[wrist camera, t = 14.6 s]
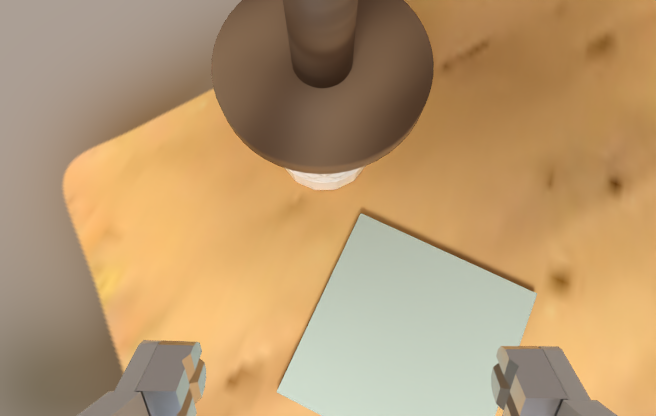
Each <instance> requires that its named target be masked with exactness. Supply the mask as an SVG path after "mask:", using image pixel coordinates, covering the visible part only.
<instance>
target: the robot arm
mask: <svg viewBox="0 0 656 416" xmlns="http://www.w3.org/2000/svg"><path fill="white" fill-rule="evenodd" d="M201 352H202V350H201V346H200V343H199V342H184V341H153V340H144V341H142V342H141V343H140V344H139V346H138V347H137V349H136V351H135V353H134V355H133V357H132V359H131V361H130V362H129V364H128V366H127V368H126V370H125V372H124V374H123V376H122V378H121V380H120V381H119V383H118V385H117V387H116V389H115V391H109V392H107V393H106V394H105V395H103V396H102V397H101V398H99V399H98V400H97V401H95V402H94V403H93V404H91V405H90V406H89V407H87V408H86V409H85V410H84V411H82V412H81V413H79V414H78V415H77V416H196V414H197V412H196V408H195V403H196V402H197V401H199V400H200V399H201V398H202V395H203V391H204V388H205V381H206V368H205V363H204V362H203V361H202V360H201V359H200V355H201ZM496 357H497V360H498V362H499V363H498V364H496V365H495V366H494V367H493V369H492V374H491V387H492V392H493V396H494V399H495V402H496V404H497V405H498V406H499V407H500V408H502V409H503V410H504V412H503V415H502V416H617V415H616V414H614V413H613V412H612V411H610V410H609V409H608V408H606V407H605V406H604V405H602V404H601V403H600V402H598V401H597V400H591V399H590V397H589V396H588V394H587V392H586V390H585V389H584V387H583V385H582V384H581V382H580V380H579V378H578V377H577V375H576V373H575V371H574V370H573V368H572V366H571V364H570V363H569V361H568V359H567V358H566V356H565V354H564V352H563V351H562V349H560V348H559V347H544V346H539V347H537V346H500V348H499V349H498V351H497V354H496Z"/></svg>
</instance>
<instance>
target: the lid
mask: <svg viewBox="0 0 656 416" xmlns="http://www.w3.org/2000/svg"><path fill="white" fill-rule="evenodd" d="M211 74H212V81H213V87H214V91H215V94H216V98H217V100H218V102H219V105H220V107H221V109H222V111H223V113H224V115H225V117H226V119H227V121H228V123H229V124H230V126H231V127H232V129H233V130H234V132H235V133H236V134H237V136H238V137H239V138H240V139H241V140H242V141H243V143H244V144H246V145H247V146H248V147H249V148H250V149H251V150H253V151H254V152H255V153H257V154H258V155H260V156H261V157H263V158H264V159H266V160H268V161H270V162H272V163H274V164H276V165H278V166H281V167H284V168H287V169H290V170H293V171H298V172H303V173H312V174H334V173H341V172H346V171H351V170H354V169H358V168H361V167H364V166H366V165H368V164H371V163H373V162H375V161H377V160H379V159H380V158H382V157H383V156H385V155H387V154H388V153H390V152H391V151H392V150H393V149H394V148H396V147H397V146H398V145H399V144H400V143H401V142H402V141H403V140H404V139H405V138H406V137H407V136H408V135H409V133H410V132H411V130H412V129H413V127H414V126H415V124H416V123H417V121H418V119H419V117H420V115H421V113H422V110H423V108H424V106H425V104H426V101H427V99H428V96H429V92H430V89H431V85H432V79H433V55H432V49H431V45H430V42H429V38H428V35H427V33H426V31H425V29H424V27H423V25H422V23H421V21H420V20H419V18H418V17H417V15H416V14H415V12H414V11H413V10H412V9H411V8H410V6H409V5H408V4H407V3H406V2H405V1H404V0H242V1H241V2H240V3H239V4H238V5H237V6H236V7H235V9H234V10H233V11H232V12H231V13H230V15H229V16H228V18H227V19H226V21H225V22H224V24H223V26H222V28H221V30H220V32H219V34H218V36H217V39H216V42H215V45H214V49H213V55H212V69H211Z"/></svg>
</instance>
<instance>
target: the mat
mask: <svg viewBox="0 0 656 416" xmlns="http://www.w3.org/2000/svg"><path fill="white" fill-rule="evenodd" d="M536 296H537V293H535V292H533V291H530V290H528V289H526V288H524V287H522V286H519V285H517V284H515V283H513V282H511V281H508V280H506V279H504V278H502V277H500V276H498V275H495V274H493V273H491V272H489V271H487V270H484V269H482V268H480V267H478V266H476V265H473V264H471V263H469V262H467V261H465V260H463V259H460V258H458V257H456V256H454V255H452V254H449V253H447V252H445V251H443V250H441V249H438V248H436V247H434V246H432V245H430V244H427V243H425V242H423V241H421V240H419V239H417V238H414V237H412V236H410V235H408V234H406V233H403V232H401V231H399V230H397V229H395V228H392V227H390V226H388V225H386V224H384V223H381V222H379V221H377V220H375V219H373V218H371V217H368V216H366V215H364V214H362V213H361V214H360V216H359V218H358V220H357V222H356V224H355V226H354V228H353V231H352V233H351V235H350V237H349V239H348V241H347V243H346V245H345V248H344V250H343V252H342V254H341V256H340V258H339V260H338V262H337V265H336V267H335V269H334V271H333V273H332V275H331V277H330V279H329V282H328V284H327V286H326V288H325V290H324V292H323V294H322V296H321V299H320V301H319V303H318V305H317V307H316V309H315V311H314V313H313V316H312V318H311V320H310V322H309V324H308V326H307V328H306V330H305V333H304V335H303V337H302V339H301V341H300V343H299V345H298V347H297V350H296V352H295V354H294V356H293V358H292V360H291V362H290V364H289V367H288V369H287V371H286V373H285V375H284V377H283V379H282V381H281V384H280V386H279V388H278V390H277V393H279V394H281V395H283V396H285V397H287V398H289V399H291V400H293V401H295V402H297V403H299V404H300V405H302V406H304V407H306V408H308V409H310V410H312V411H314V412H316V413H318V414H320V415H322V416H495V414H496V411H497V408H498V405H497V404H496V402H495V399H494V396H493V392H492V387H491V374H492V369H493V367H494V366H495V365H496V364H498V363H499V362H498V360H497V357H496V354H497V351H498V349H499V348H500V346H519V345H520V342H521V339H522V336H523V333H524V330H525V327H526V325H527V322H528V319H529V316H530V313H531V310H532V307H533V304H534V301H535V299H536Z"/></svg>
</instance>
